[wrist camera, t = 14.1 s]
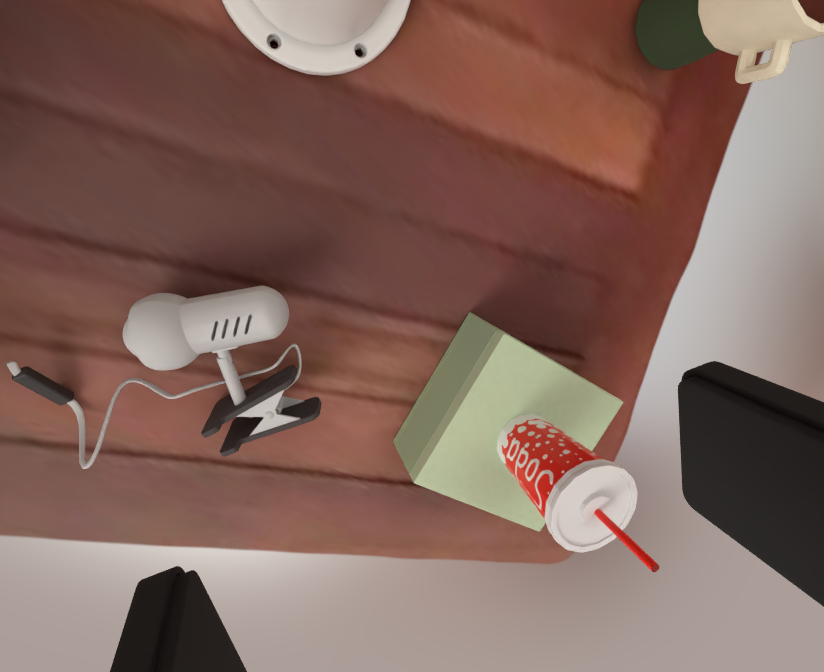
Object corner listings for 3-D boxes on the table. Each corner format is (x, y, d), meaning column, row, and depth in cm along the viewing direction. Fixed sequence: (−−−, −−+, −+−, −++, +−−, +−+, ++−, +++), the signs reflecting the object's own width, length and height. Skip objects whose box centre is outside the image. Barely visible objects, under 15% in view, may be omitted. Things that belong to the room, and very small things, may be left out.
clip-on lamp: (102, 445, 39) (327, 402, 39) (56, 503, 33) (320, 453, 33) (28, 308, 34) (285, 259, 34) (-42, 350, 28) (269, 291, 28)
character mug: (685, 108, 42) (854, 77, 30) (613, 98, 40) (765, 61, 28) (714, -43, 39) (915, -145, 27) (639, -62, 37) (820, -181, 25)
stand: (469, 311, 41) (504, 333, 35) (576, 373, 46) (624, 402, 40) (392, 441, 43) (413, 483, 37) (504, 488, 48) (539, 532, 42)
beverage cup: (517, 391, 37) (654, 500, 24) (572, 423, 39) (723, 539, 27) (472, 457, 38) (582, 599, 25) (529, 486, 40) (656, 628, 27)
